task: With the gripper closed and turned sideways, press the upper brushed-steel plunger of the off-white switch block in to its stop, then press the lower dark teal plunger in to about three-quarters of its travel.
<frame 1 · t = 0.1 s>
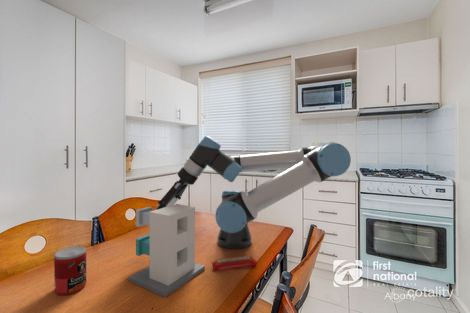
hand: (160, 214, 95), 15 cm above the table, tool tilted 35°, fingers open, 13 cm apart
candy bar: (234, 267, 84), on the table
teal plunger: (156, 248, 81), point 8 cm above the table, slide at 0.0 cm
steel plunger: (156, 219, 80), point 18 cm above the table, slide at 0.0 cm
canned food: (71, 288, 70), on the table
switch block: (164, 273, 79), on the table
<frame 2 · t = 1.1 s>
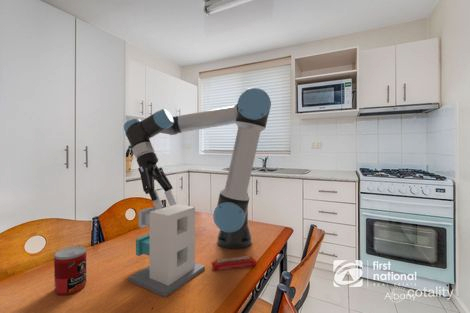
hand: (167, 207, 90), 19 cm above the table, tool tilted 30°, fingers open, 10 cm apart
steel plunger: (159, 219, 80), point 18 cm above the table, slide at 1.4 cm, touching gripper
everything else where it was.
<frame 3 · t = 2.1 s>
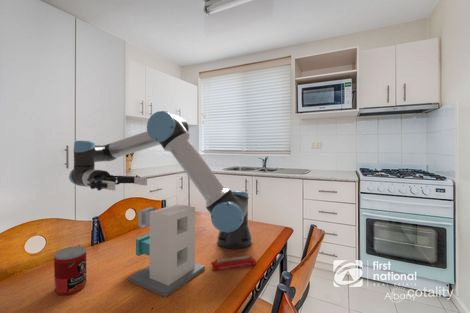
hand: (131, 184, 86), 28 cm above the table, tool horizontal, fingers open, 12 cm apart
steel plunger: (158, 219, 80), point 18 cm above the table, slide at 1.3 cm
everything else where it was.
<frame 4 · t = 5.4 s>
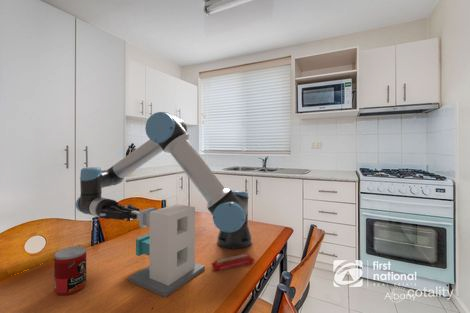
hand: (145, 217, 83), 17 cm above the table, tool horizontal, fingers closed
steel plunger: (160, 220, 79), point 18 cm above the table, slide at 1.9 cm, touching gripper
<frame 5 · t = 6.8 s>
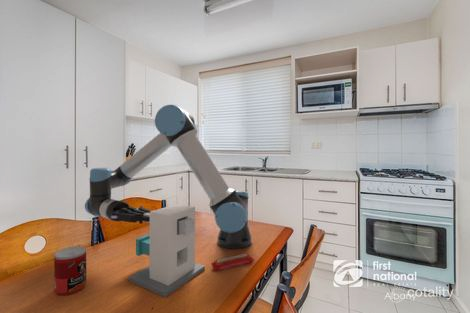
hand: (158, 220, 80), 17 cm above the table, tool horizontal, fingers closed
steel plunger: (174, 223, 76), point 18 cm above the table, slide at 8.1 cm, touching gripper
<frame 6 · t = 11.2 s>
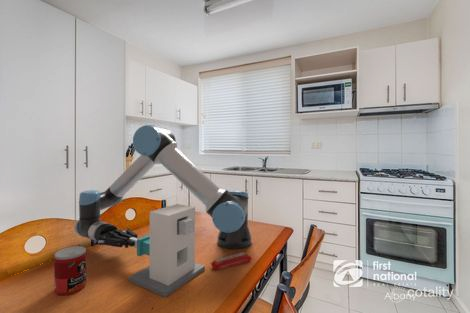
hand: (142, 245, 84), 7 cm above the table, tool horizontal, fingers closed
teal plunger: (157, 248, 80), point 8 cm above the table, slide at 0.6 cm, touching gripper
steel plunger: (173, 223, 76), point 18 cm above the table, slide at 8.1 cm
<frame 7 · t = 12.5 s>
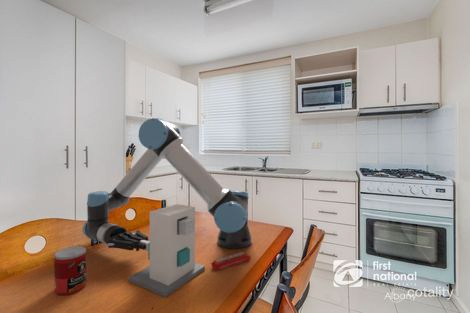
hand: (154, 248, 81), 7 cm above the table, tool horizontal, fingers closed
teal plunger: (169, 252, 77), point 8 cm above the table, slide at 6.3 cm, touching gripper
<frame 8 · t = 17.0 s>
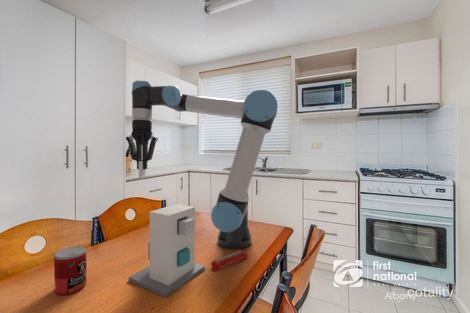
hand: (142, 177, 98), 29 cm above the table, tool pointing down, fingers closed
teal plunger: (169, 252, 77), point 8 cm above the table, slide at 6.3 cm
at the end: steel plunger slide at 8.1 cm; teal plunger slide at 6.3 cm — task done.
